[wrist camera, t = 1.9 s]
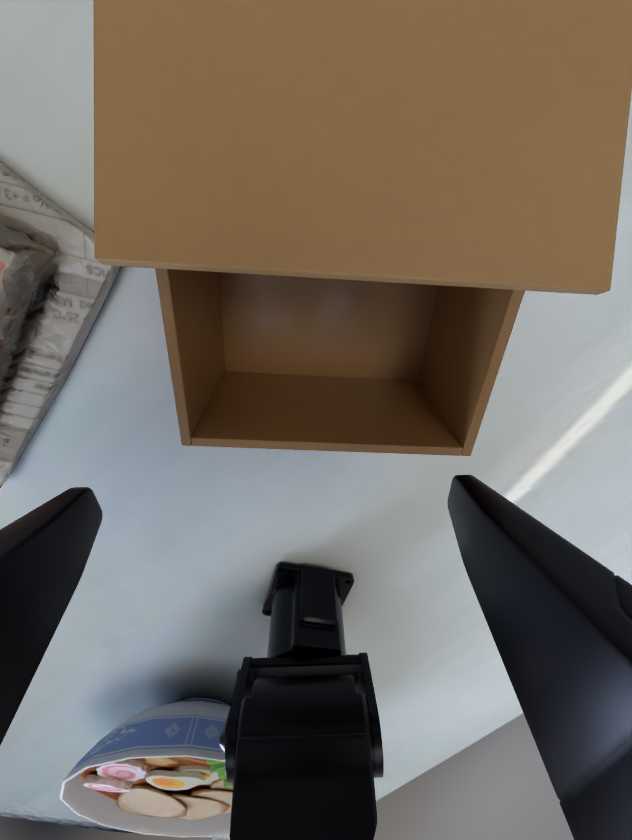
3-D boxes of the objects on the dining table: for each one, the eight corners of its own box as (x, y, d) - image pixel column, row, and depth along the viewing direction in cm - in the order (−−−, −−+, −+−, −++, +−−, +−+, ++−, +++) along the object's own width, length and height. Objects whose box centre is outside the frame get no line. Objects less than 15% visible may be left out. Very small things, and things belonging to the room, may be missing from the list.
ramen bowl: (84, 643, 34) (25, 757, 27) (322, 662, 36) (325, 770, 29) (109, 751, 46) (72, 849, 39) (286, 759, 48) (282, 853, 41)
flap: (102, -36, 8) (92, -59, 7) (625, 16, 8) (641, -2, 8) (103, 266, 8) (92, 259, 8) (597, 295, 9) (611, 290, 8)
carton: (197, 79, 14) (109, -33, 8) (483, 103, 15) (616, 17, 9) (220, 374, 21) (181, 445, 14) (421, 384, 21) (470, 456, 15)
